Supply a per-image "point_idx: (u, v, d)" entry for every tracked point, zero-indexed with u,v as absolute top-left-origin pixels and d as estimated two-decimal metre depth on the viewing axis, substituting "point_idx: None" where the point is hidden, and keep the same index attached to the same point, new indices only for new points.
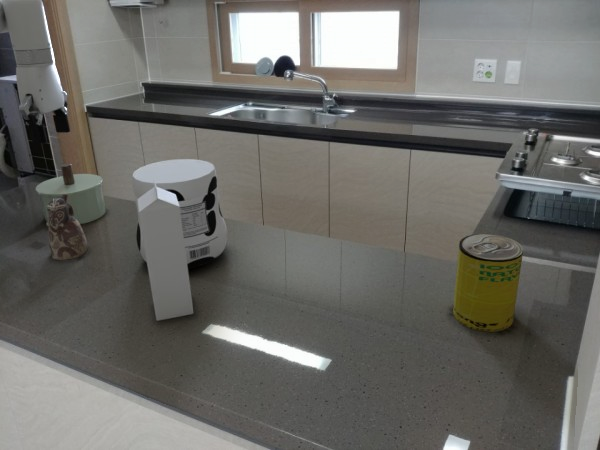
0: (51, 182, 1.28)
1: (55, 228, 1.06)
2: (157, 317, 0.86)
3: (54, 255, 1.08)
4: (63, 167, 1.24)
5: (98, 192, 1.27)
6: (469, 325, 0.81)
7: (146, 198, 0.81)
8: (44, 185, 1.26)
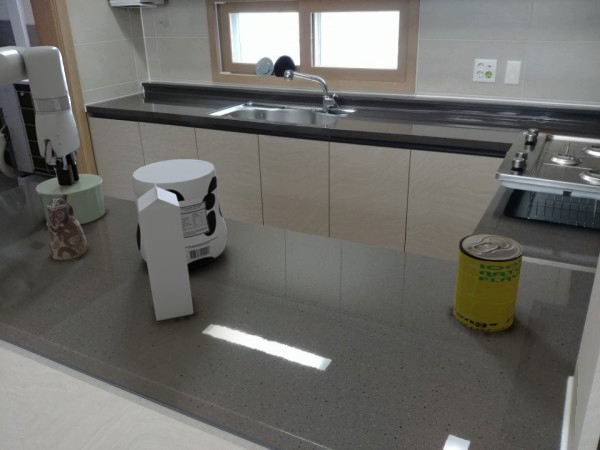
0: (51, 182, 1.28)
1: (55, 228, 1.06)
2: (157, 317, 0.86)
3: (54, 255, 1.08)
4: None
5: (98, 192, 1.27)
6: (469, 325, 0.81)
7: (146, 198, 0.81)
8: (44, 185, 1.26)
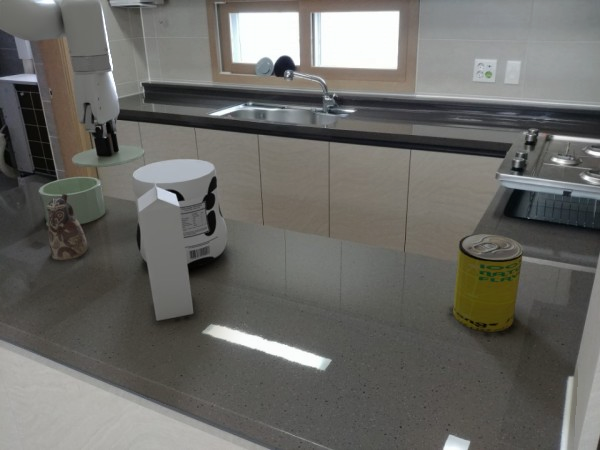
0: (88, 153, 1.15)
1: (55, 228, 1.06)
2: (157, 317, 0.86)
3: (54, 255, 1.08)
4: None
5: (98, 192, 1.27)
6: (469, 325, 0.81)
7: (146, 198, 0.81)
8: (80, 156, 1.13)
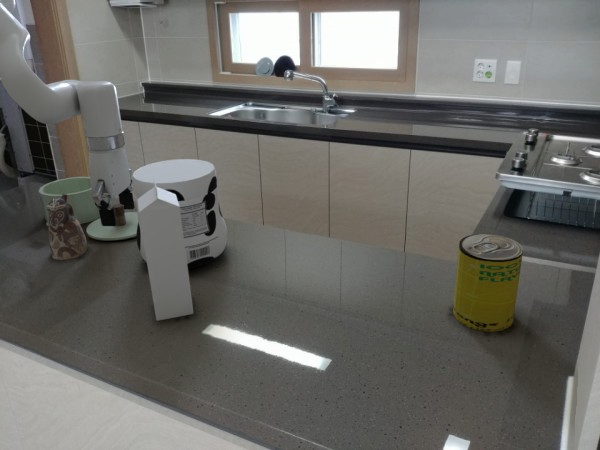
0: None
1: (55, 228, 1.06)
2: (157, 317, 0.86)
3: (54, 255, 1.08)
4: (115, 208, 1.18)
5: None
6: (469, 325, 0.81)
7: (146, 198, 0.81)
8: (94, 226, 1.20)
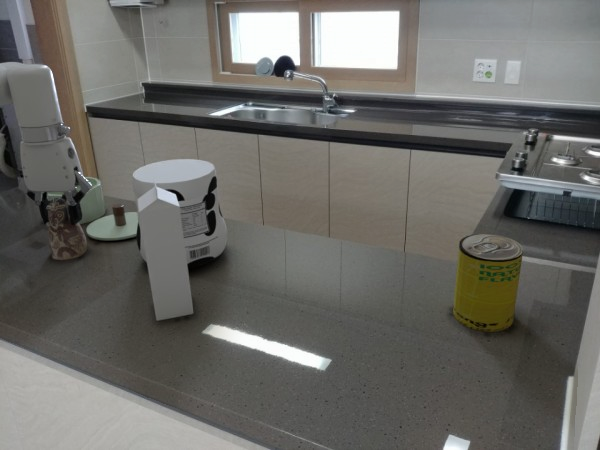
0: (101, 223, 1.22)
1: (55, 228, 1.06)
2: (157, 317, 0.86)
3: (54, 255, 1.08)
4: (115, 208, 1.18)
5: (98, 192, 1.27)
6: (469, 325, 0.81)
7: (146, 198, 0.81)
8: (94, 226, 1.20)
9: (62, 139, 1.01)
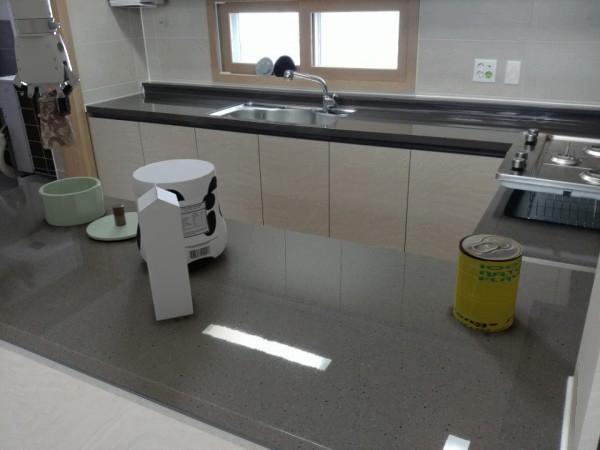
0: (101, 223, 1.22)
1: (46, 118, 1.17)
2: (157, 317, 0.86)
3: (45, 145, 1.19)
4: (115, 208, 1.18)
5: (98, 192, 1.27)
6: (469, 325, 0.81)
7: (146, 198, 0.81)
8: (94, 226, 1.20)
9: (52, 33, 1.12)
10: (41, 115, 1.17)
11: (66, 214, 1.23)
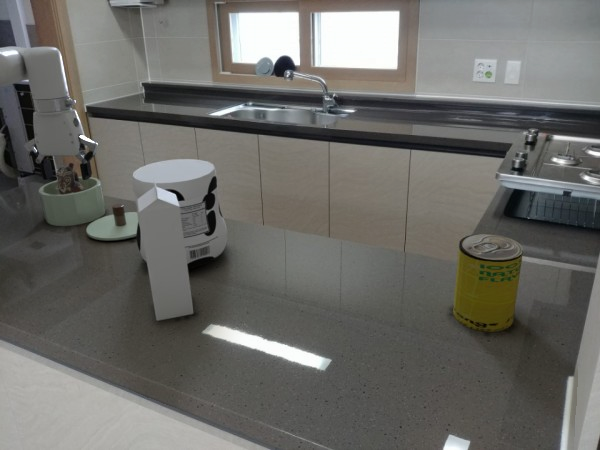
0: (101, 223, 1.22)
1: (63, 191, 1.25)
2: (157, 317, 0.86)
3: None
4: (115, 208, 1.18)
5: (98, 192, 1.27)
6: (469, 325, 0.81)
7: (146, 198, 0.81)
8: (94, 226, 1.20)
9: (69, 110, 1.20)
10: (59, 188, 1.25)
11: (66, 214, 1.23)
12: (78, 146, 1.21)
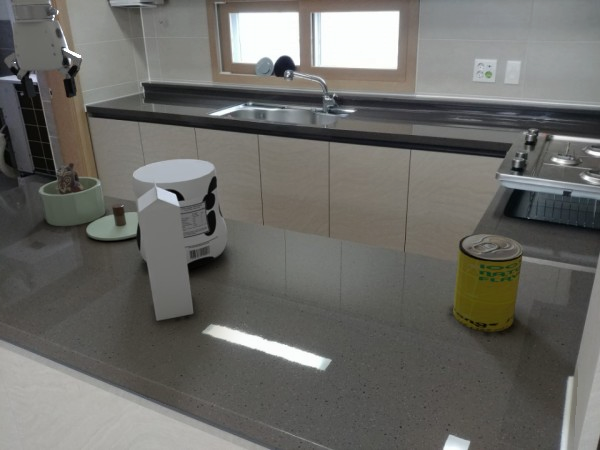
0: (101, 223, 1.22)
1: (63, 191, 1.25)
2: (157, 317, 0.86)
3: None
4: (115, 208, 1.18)
5: (98, 192, 1.27)
6: (469, 325, 0.81)
7: (146, 198, 0.81)
8: (94, 226, 1.20)
9: (50, 19, 1.12)
10: (59, 188, 1.25)
11: (66, 214, 1.23)
12: (61, 59, 1.14)
